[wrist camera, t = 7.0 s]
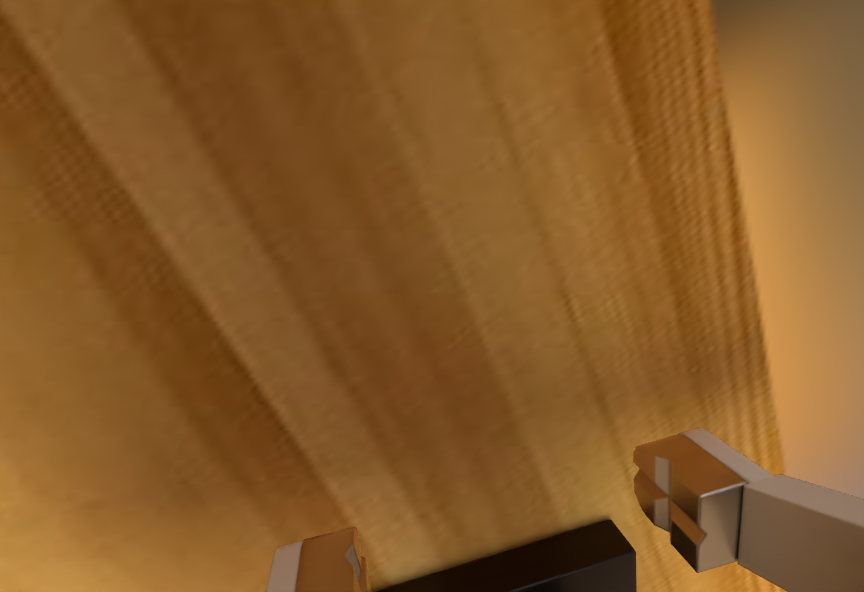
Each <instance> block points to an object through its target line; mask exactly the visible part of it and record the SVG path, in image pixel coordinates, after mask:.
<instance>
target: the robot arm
mask: <svg viewBox="0 0 864 592" xmlns="http://www.w3.org/2000/svg"><path fill="white" fill-rule="evenodd" d="M633 462H634V463H635V464H636V465H637V466H638V467H639V468H640V469H639V471H638V472H637V474H636V476H635V478H634V491H635V494H636V497H637V499H638V502H639V505H640V506H641V508H642V510H643V511H644V513H645V514H646V516H647V517H648V518H649V519H650V520H651V522H652V523H653V524H654V525H655V526H657V527H660V528H662V529H664V530H666V531H668V532H669V533H670V541H671V544H672V545H673V546H674V548H675V549H676V550H677V551H678V552H679V553H680V554H681V555H682V556H683V558H684V559H685V560H686V561H687V562H688V563H689V564H690V565H691V566H692V568H693V569H694V570H695V571H696V572H697V573H699V572H703V571H706V570H709V569H713V568H716V567H719V566H723V565H726V564H729V563H733V562H736V561H738V564H739V565H741V566H743V567H744V568H746V569H748V570H750V571H752V572H753V573H755V574H757V575H759V576H761V577H762V578H764V579H766V580H768V581H770V582H771V583H773V584H775V585H777V586H779V587H780V588H782V589H784V590H786V591H788V592H864V499H862V498H858V497H855V496H852V495H849V494H845V493H842V492H838V491H835V490H832V489H829V488H825V487H822V486H819V485H815V484H812V483H809V482H806V481H802V480H799V479H795V478H792V477H789V476H786V475H782V474H779V475H775V476H773V475H772V474H770V473H769V472H767V471H766V470H764V469H763V468H762V467H760V466H759V465H757V464H756V463H754V462H753V461H751V460H750V459H748V458H747V457H745V456H744V455H743V454H741V453H740V452H738V451H737V450H735V449H734V448H732V447H731V446H729V445H728V444H726V443H725V442H724V441H722V440H721V439H719V438H718V437H716V436H715V435H713V434H712V433H710V432H709V431H707V430H705V429H702V428H695V429H692V430H689V431H685V432H682V433H679V434H677V435H672V436H669V437H666V438H662V439H659V440H656V441H652V442H649V443H645V444H642V445H639V446H636V448H635V450H634V452H633ZM265 592H372V589H371V581H370V576H369V570H368V566H367V562H366V558H364V557H363V556H361V540H360V537H359V534H358V531H357V528H356V527H351V528H347V529H343V530H339V531H335V532H331V533H328V534H324V535H320V536H316V537H312V538H308V539H305V540H303V541H299V542H295V543H291V544H287V545H283V546H279V547H278V548H277V550H276V551H275V553H274V555H273V559H272V563H271V568H270V572H269V577H268V581H267V586H266V590H265Z"/></svg>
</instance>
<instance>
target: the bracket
mask: <svg viewBox="0 0 864 592" xmlns="http://www.w3.org/2000/svg"><path fill="white" fill-rule="evenodd" d="M377 592H636V552H635V550H634V549H633V547H632V546H631V545H630V543H629V542H628V541H627V540H626V538H625V537H624V536H623V534H622V533H621V532H620V530H619V529H618V528H617V527H616V525H615V524H614V523H613V521H612V520H607V521H604V522H600V523H597V524H594V525H591V526H587V527H584V528H581V529H578V530H574V531H571V532H568V533H565V534H561V535H558V536H555V537H552V538H548V539H545V540H542V541H539V542H536V543H532V544H529V545H526V546H523V547H519V548H516V549H513V550H510V551H506V552H503V553H500V554H497V555H493V556H490V557H487V558H484V559H480V560H477V561H474V562H471V563H467V564H464V565H461V566H458V567H454V568H451V569H448V570H445V571H441V572H438V573H435V574H432V575H429V576H425V577H422V578H419V579H416V580H412V581H409V582H406V583H403V584H399V585H396V586H393V587H390V588H386V589H383V590H380V591H377Z"/></svg>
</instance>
